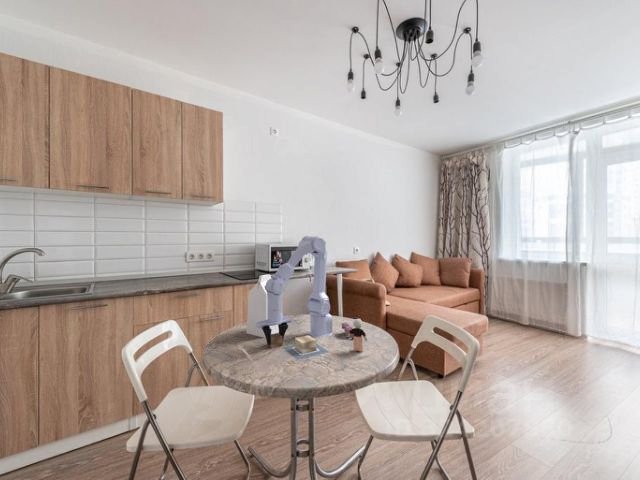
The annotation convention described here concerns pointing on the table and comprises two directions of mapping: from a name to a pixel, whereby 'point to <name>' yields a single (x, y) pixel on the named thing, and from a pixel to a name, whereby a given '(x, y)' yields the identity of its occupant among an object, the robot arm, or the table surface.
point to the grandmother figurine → (358, 336)
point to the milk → (258, 308)
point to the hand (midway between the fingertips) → (274, 343)
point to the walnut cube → (276, 340)
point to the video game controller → (347, 329)
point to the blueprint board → (299, 355)
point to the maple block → (305, 344)
